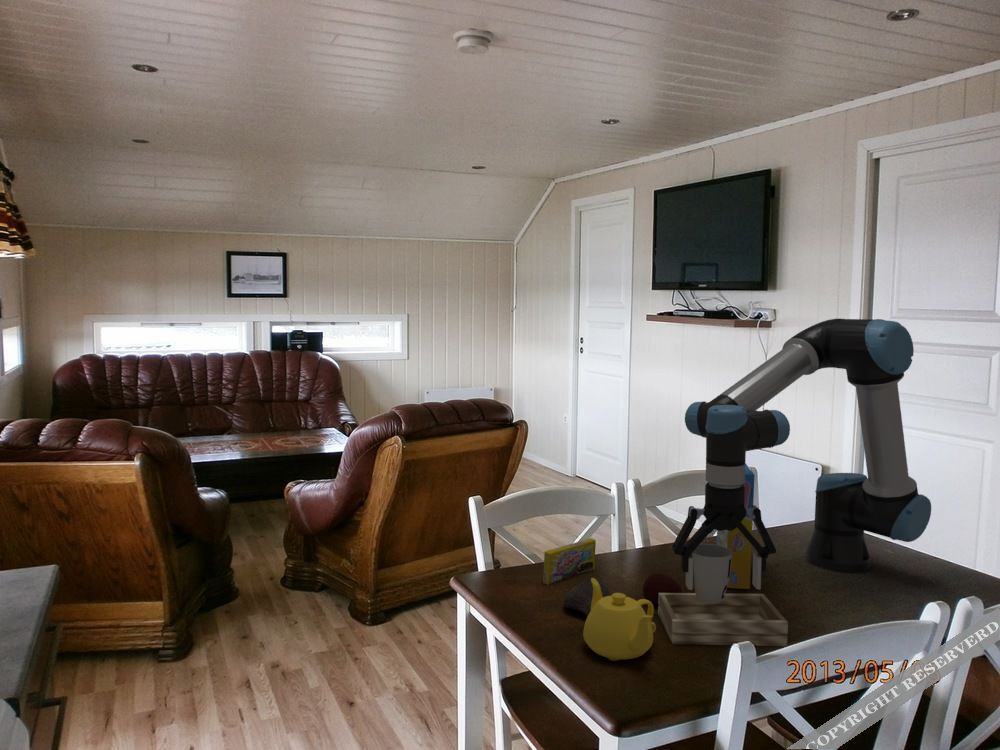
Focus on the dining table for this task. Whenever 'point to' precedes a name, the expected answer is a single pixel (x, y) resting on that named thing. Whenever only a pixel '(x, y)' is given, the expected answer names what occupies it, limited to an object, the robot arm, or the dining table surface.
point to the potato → (659, 586)
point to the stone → (583, 596)
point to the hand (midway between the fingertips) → (722, 587)
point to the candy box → (569, 561)
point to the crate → (722, 620)
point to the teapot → (618, 625)
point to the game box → (740, 541)
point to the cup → (711, 572)
